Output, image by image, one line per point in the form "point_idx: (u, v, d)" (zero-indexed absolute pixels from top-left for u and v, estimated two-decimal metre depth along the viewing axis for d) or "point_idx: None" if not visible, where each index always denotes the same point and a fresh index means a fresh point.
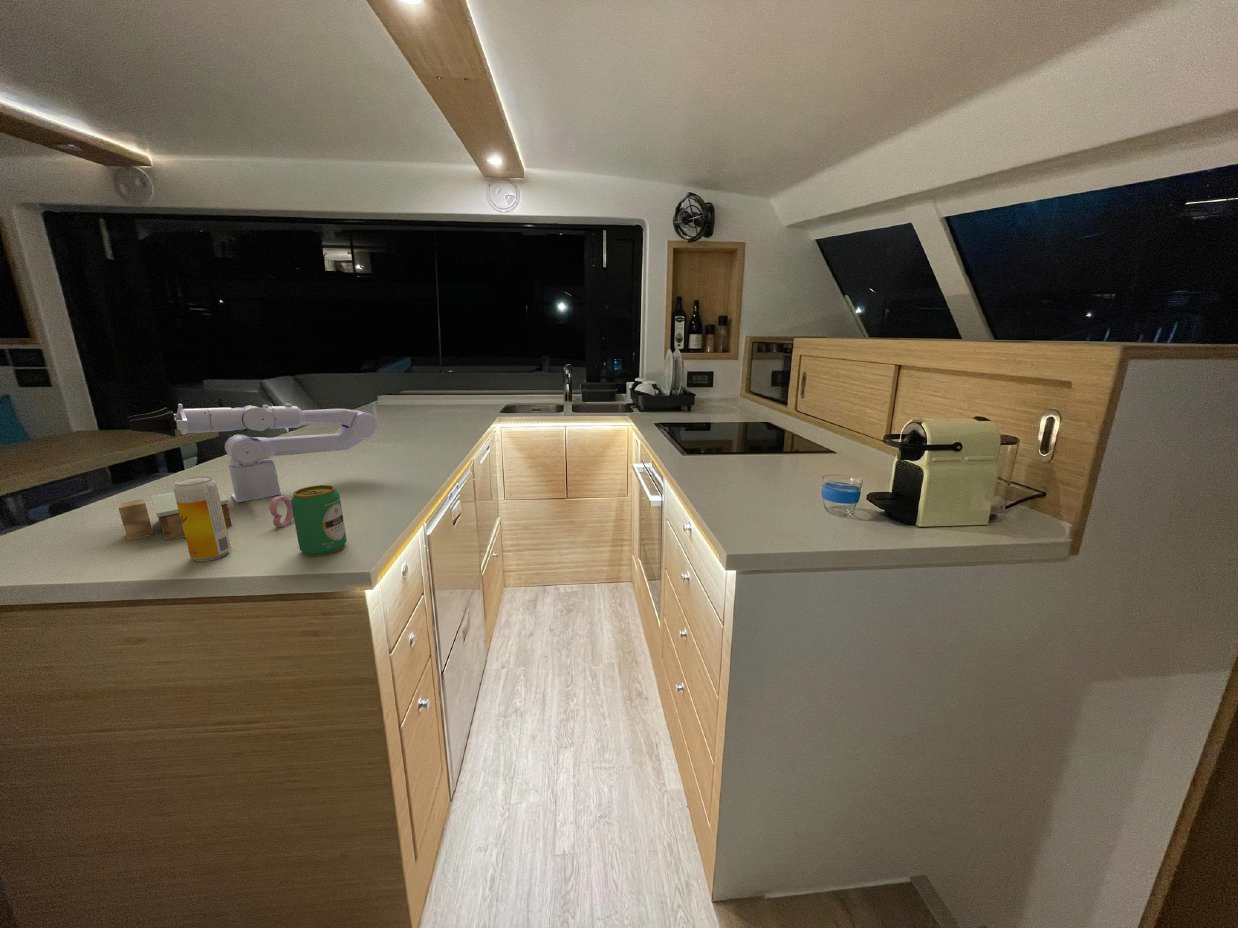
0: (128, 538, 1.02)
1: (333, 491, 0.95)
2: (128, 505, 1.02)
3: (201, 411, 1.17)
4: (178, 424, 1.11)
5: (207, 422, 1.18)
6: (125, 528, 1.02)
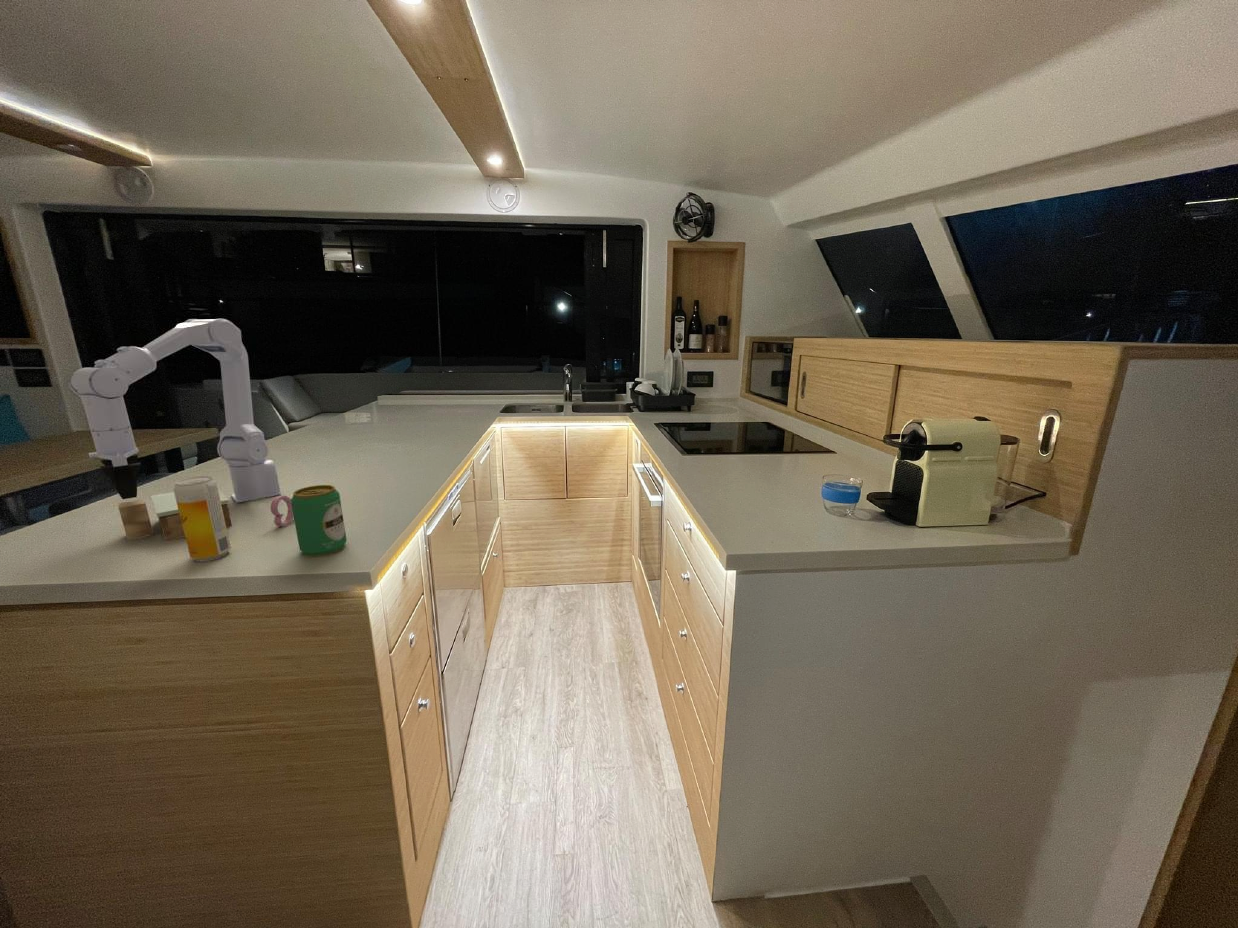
0: (128, 538, 1.02)
1: (333, 491, 0.95)
2: (128, 505, 1.02)
3: (96, 437, 0.97)
4: (118, 464, 0.96)
5: (113, 433, 0.98)
6: (125, 528, 1.02)
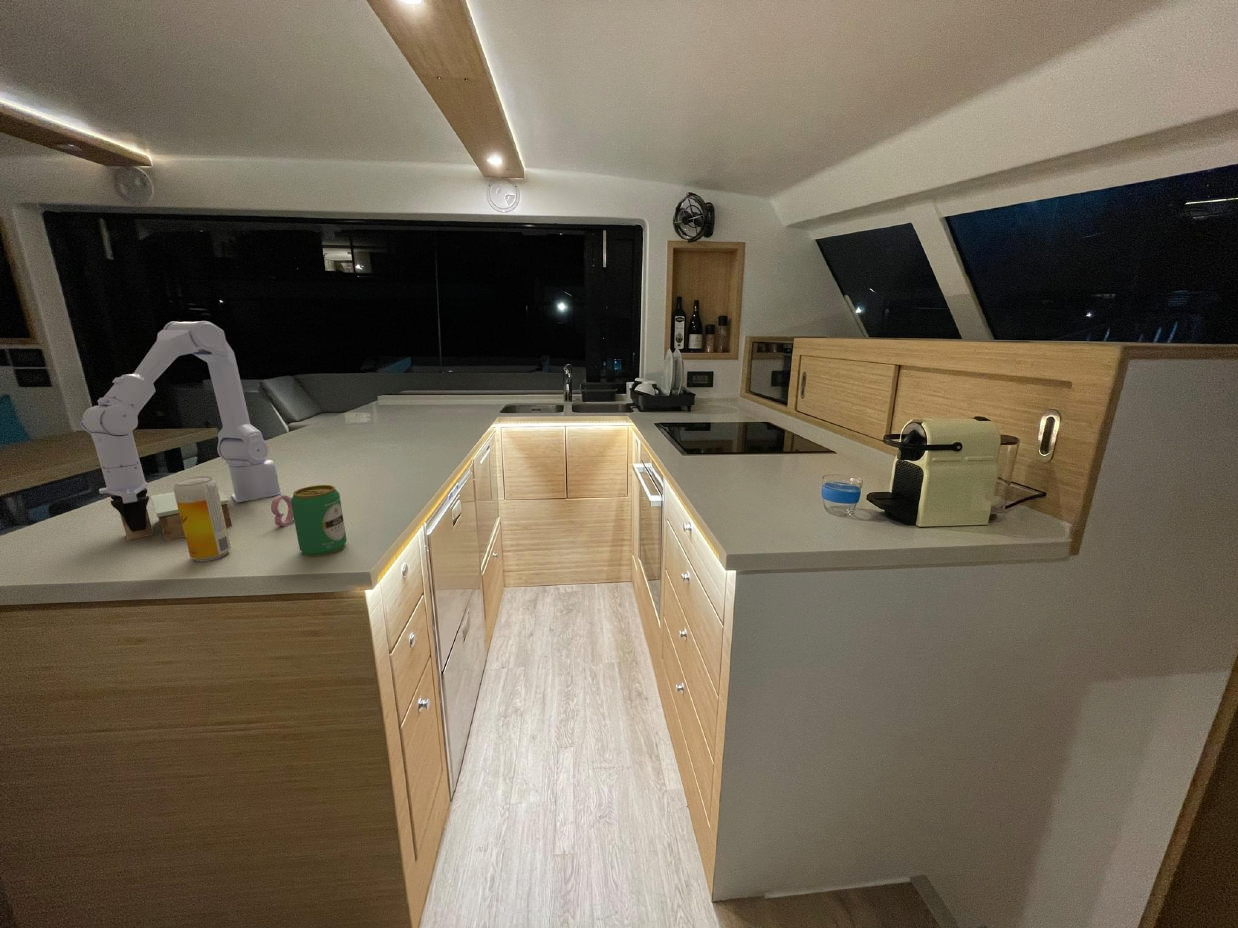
0: (128, 538, 1.02)
1: (333, 491, 0.95)
2: None
3: (106, 474, 0.99)
4: (128, 501, 0.98)
5: (123, 469, 1.00)
6: (125, 528, 1.02)
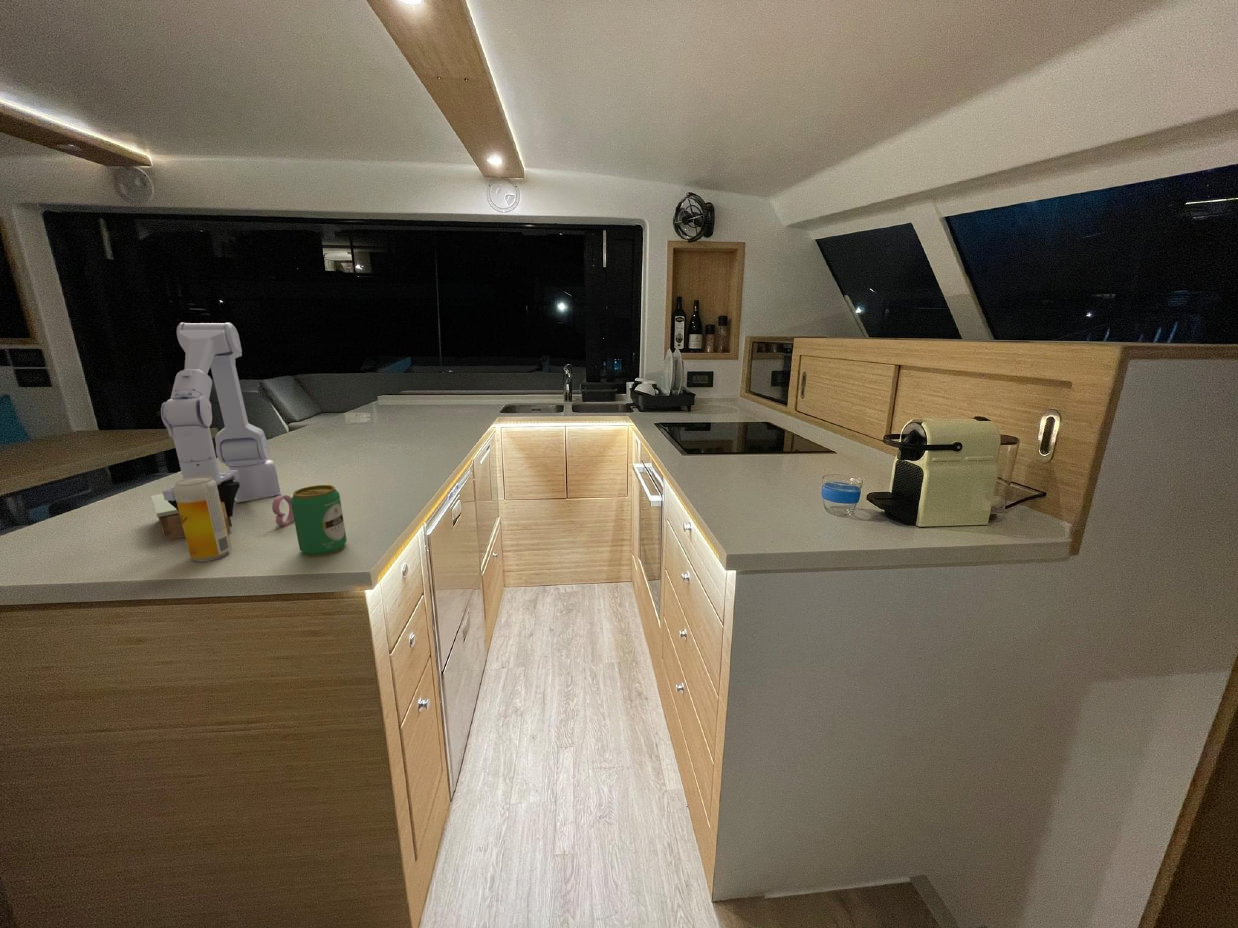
0: None
1: (333, 491, 0.95)
2: None
3: None
4: (167, 499, 0.94)
5: (185, 464, 0.97)
6: None
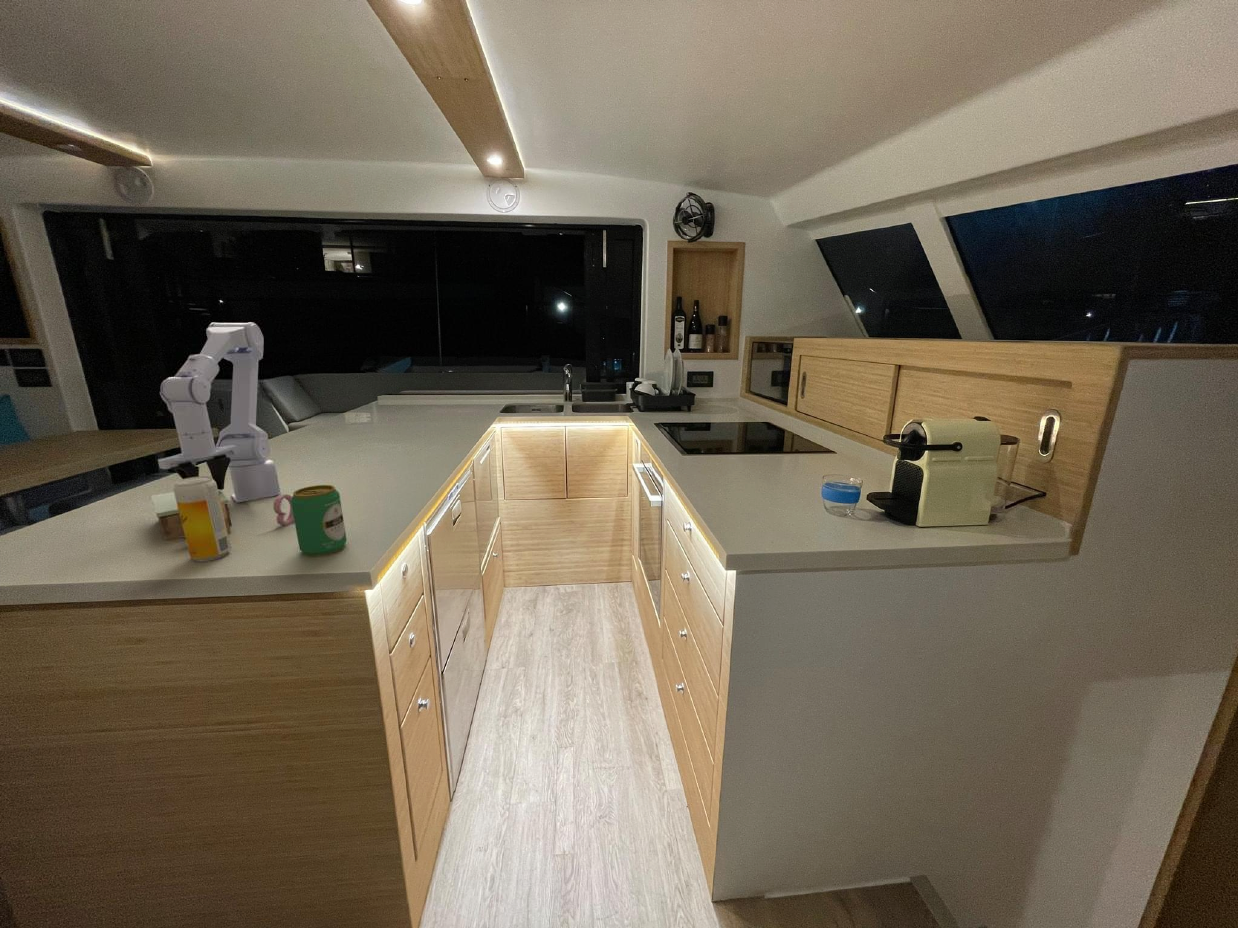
0: None
1: (333, 491, 0.95)
2: None
3: None
4: (161, 467, 1.04)
5: (181, 437, 1.06)
6: None
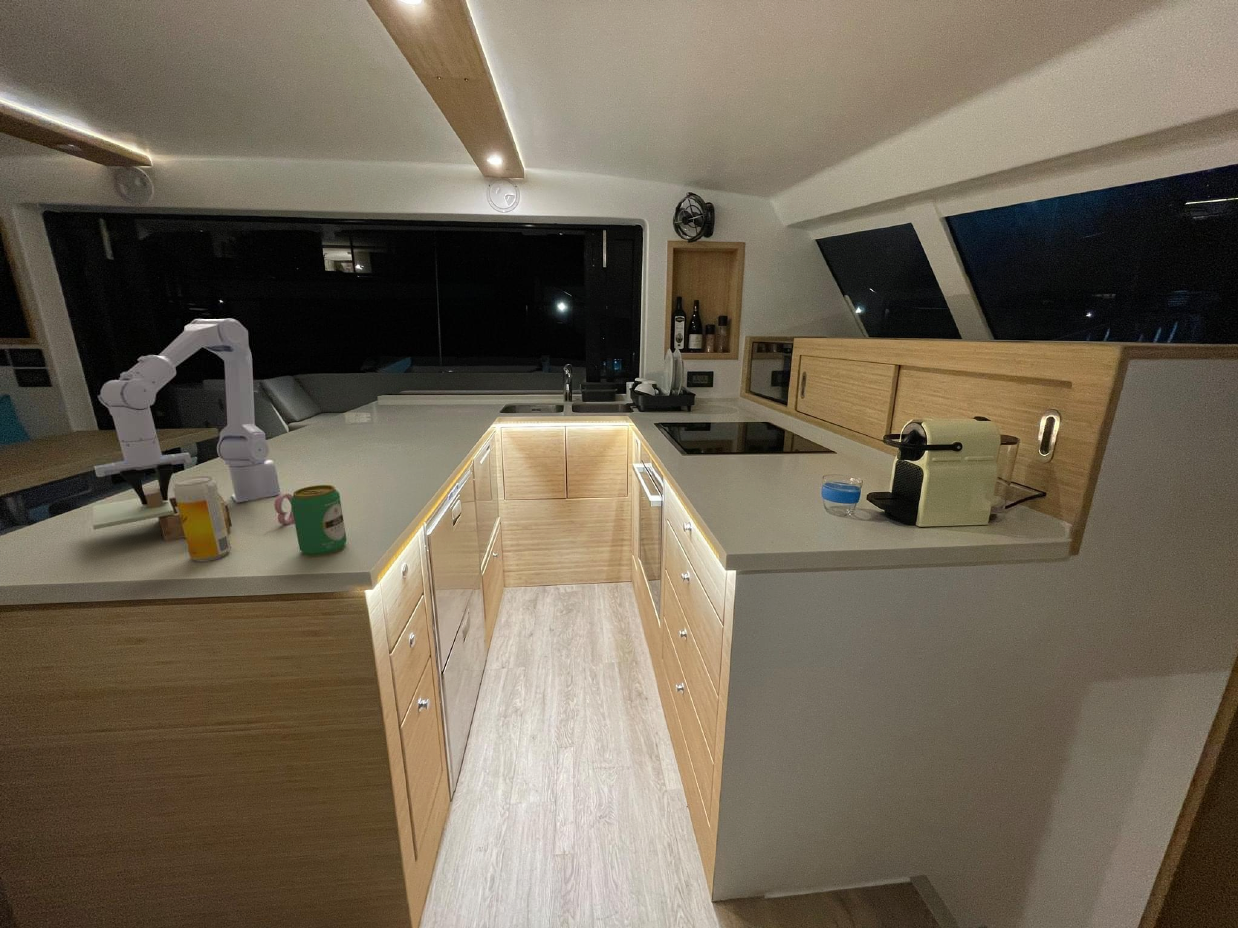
0: None
1: (333, 491, 0.95)
2: None
3: None
4: (96, 474, 0.99)
5: (120, 444, 1.00)
6: None
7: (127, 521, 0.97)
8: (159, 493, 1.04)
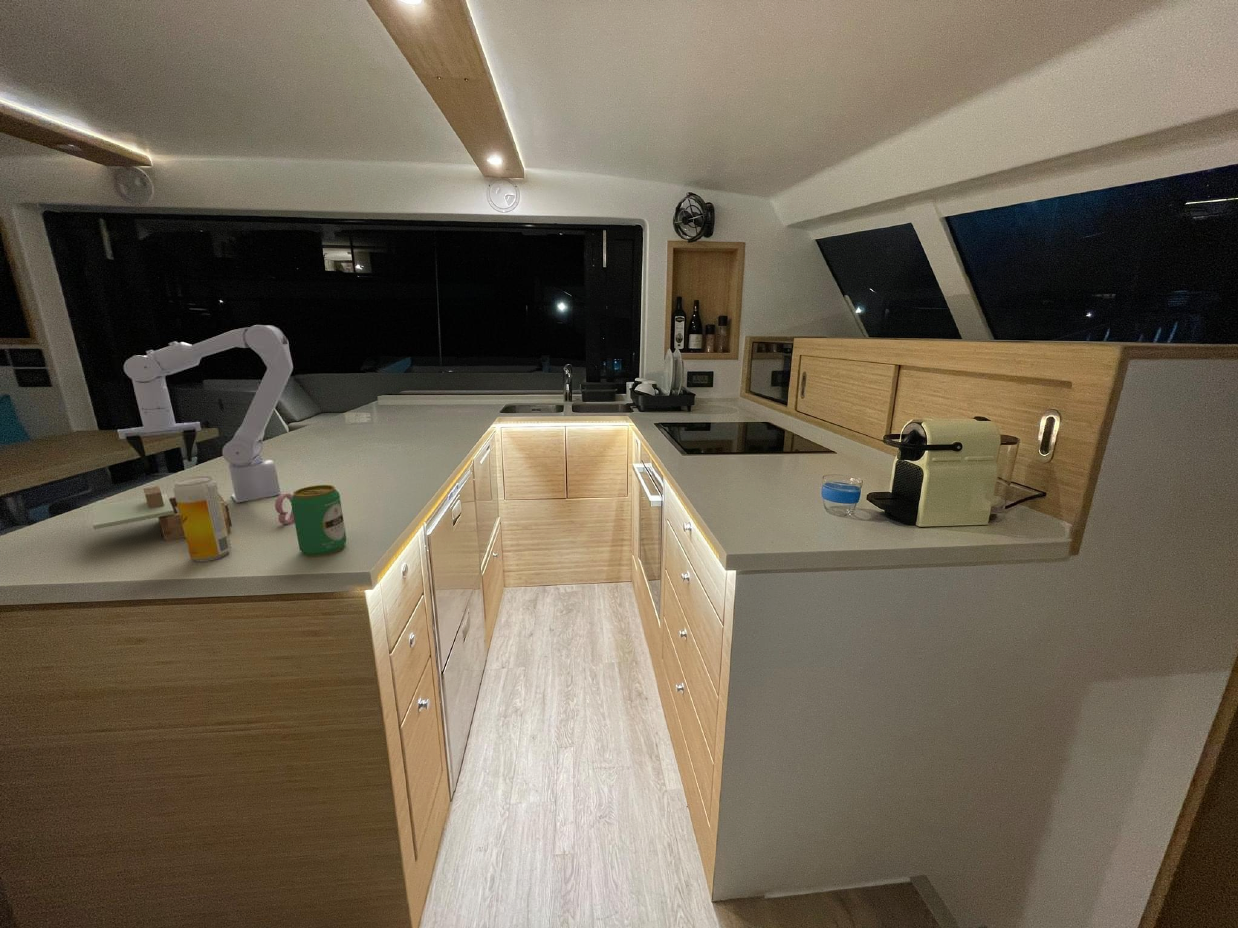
0: None
1: (333, 491, 0.95)
2: None
3: None
4: (119, 437, 1.14)
5: None
6: None
7: (127, 521, 0.97)
8: (159, 493, 1.04)
